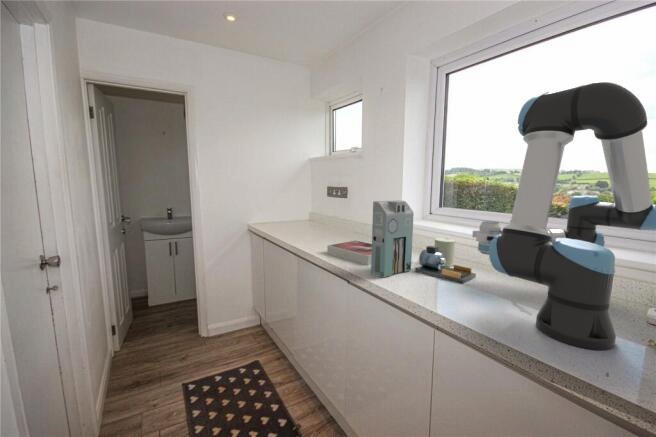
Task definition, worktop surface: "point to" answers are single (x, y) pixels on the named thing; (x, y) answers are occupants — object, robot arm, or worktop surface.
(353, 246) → the product packaging
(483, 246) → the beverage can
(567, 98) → the robot arm
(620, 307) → the worktop surface
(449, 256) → the can
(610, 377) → the worktop surface
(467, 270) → the motor
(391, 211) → the device
